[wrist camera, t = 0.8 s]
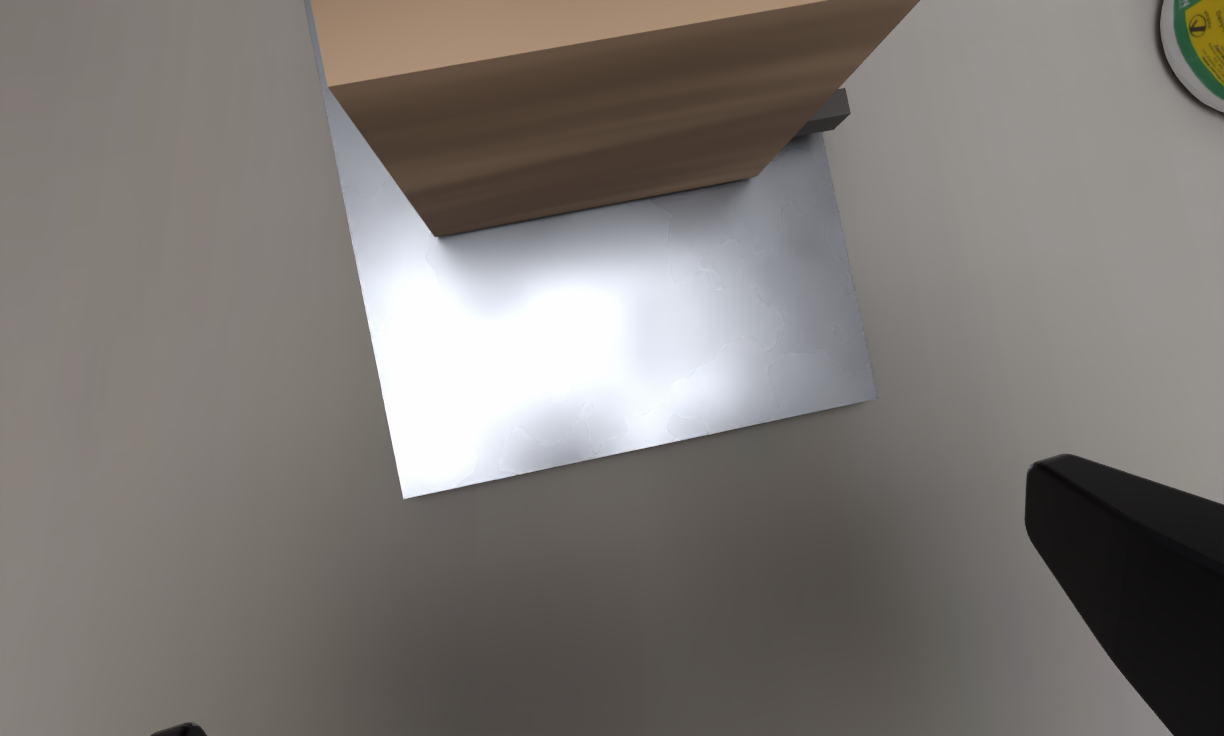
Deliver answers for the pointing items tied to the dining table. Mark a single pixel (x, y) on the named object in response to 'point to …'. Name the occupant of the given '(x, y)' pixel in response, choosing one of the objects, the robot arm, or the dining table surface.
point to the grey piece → (601, 317)
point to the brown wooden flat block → (586, 94)
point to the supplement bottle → (1196, 46)
